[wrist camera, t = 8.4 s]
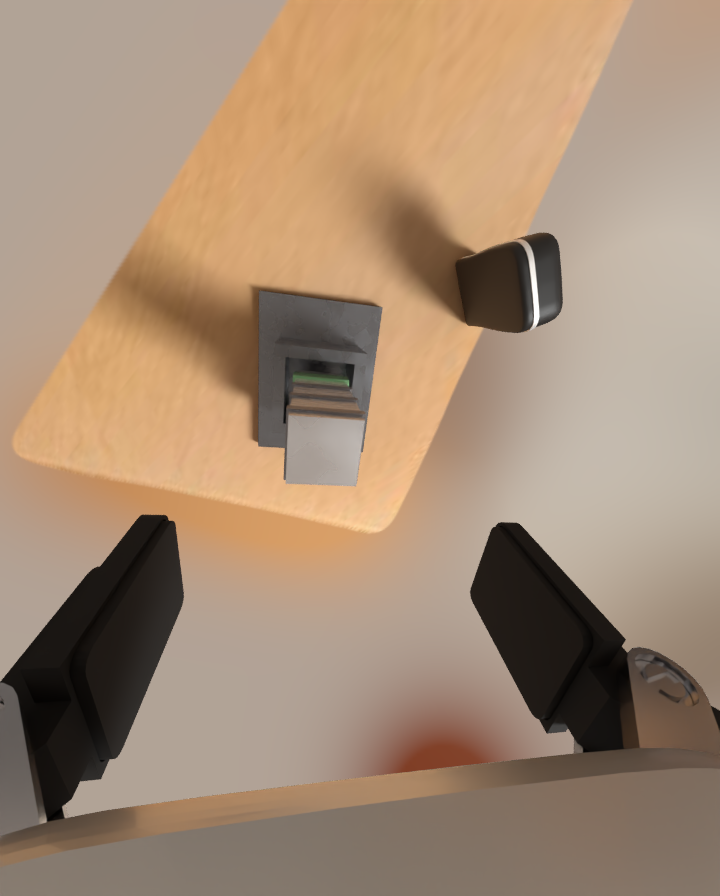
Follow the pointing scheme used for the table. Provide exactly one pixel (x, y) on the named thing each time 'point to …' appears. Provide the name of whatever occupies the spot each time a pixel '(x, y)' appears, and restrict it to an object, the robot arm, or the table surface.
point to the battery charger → (512, 284)
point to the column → (322, 431)
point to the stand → (311, 352)
